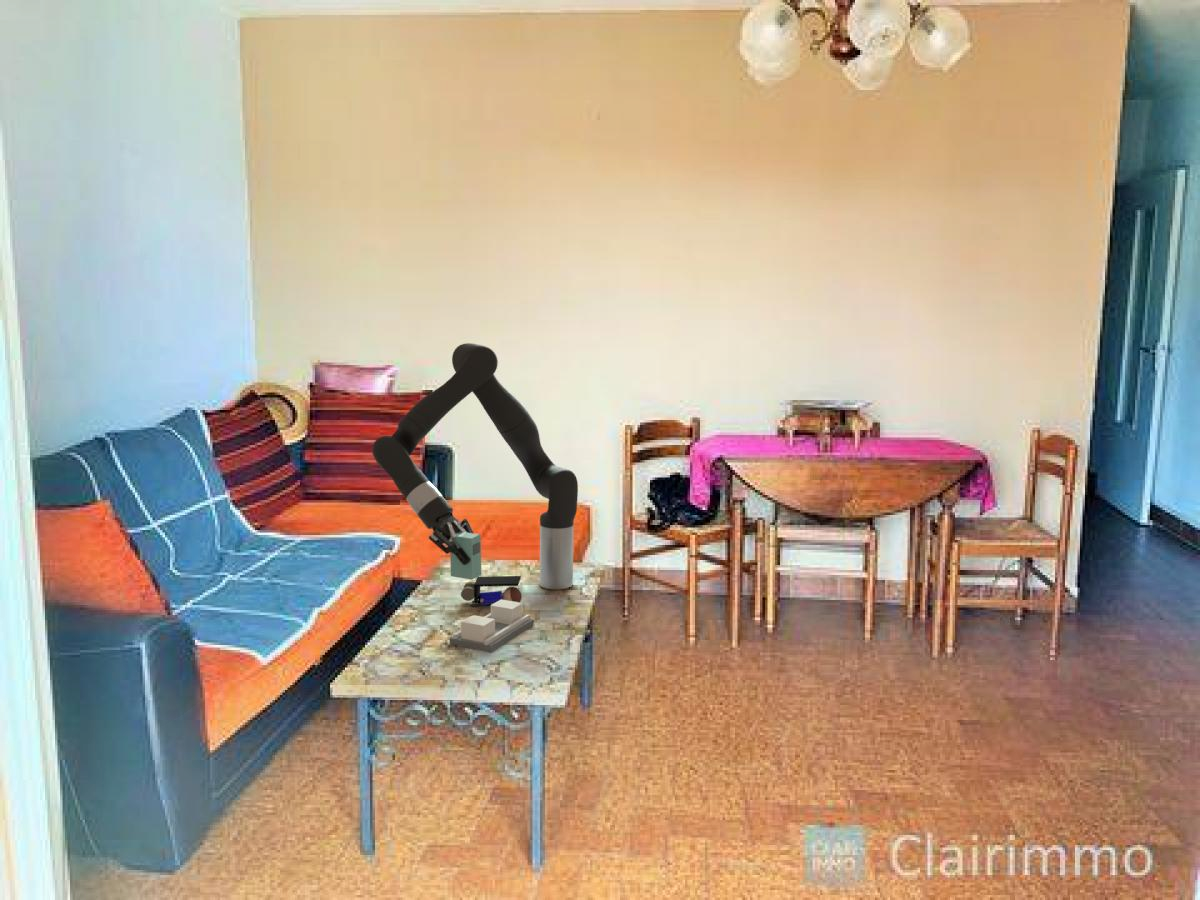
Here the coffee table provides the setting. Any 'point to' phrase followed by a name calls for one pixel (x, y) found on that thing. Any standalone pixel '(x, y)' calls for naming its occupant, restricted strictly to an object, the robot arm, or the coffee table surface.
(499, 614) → the mounted blocks
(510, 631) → the rail board
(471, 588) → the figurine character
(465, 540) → the block
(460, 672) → the coffee table surface
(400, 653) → the coffee table surface
